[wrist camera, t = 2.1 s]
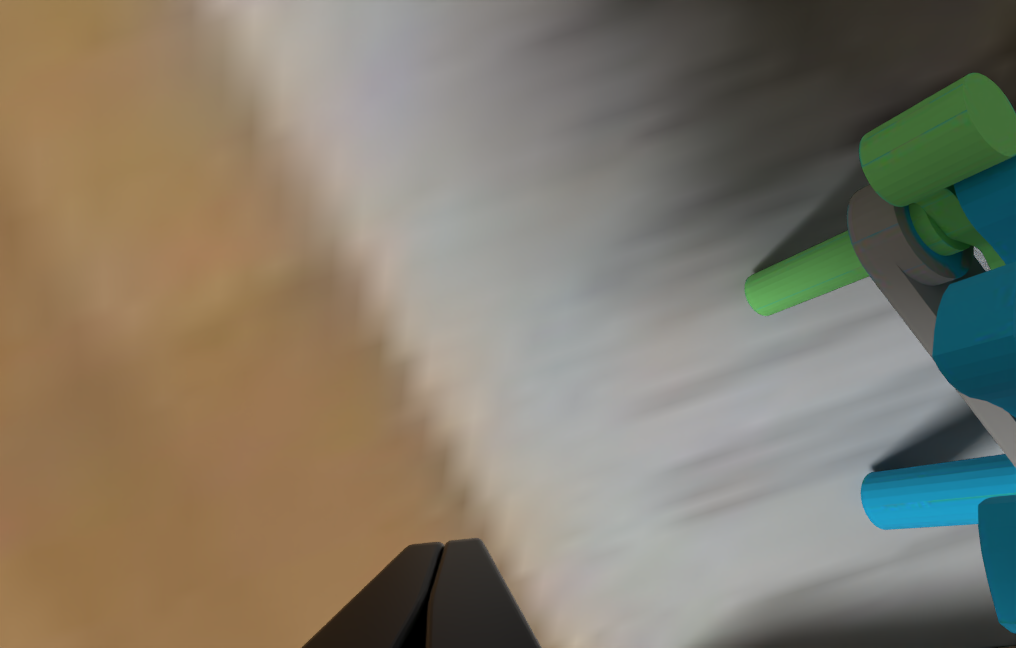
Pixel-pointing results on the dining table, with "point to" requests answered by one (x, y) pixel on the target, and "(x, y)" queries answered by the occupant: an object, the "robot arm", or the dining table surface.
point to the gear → (937, 298)
